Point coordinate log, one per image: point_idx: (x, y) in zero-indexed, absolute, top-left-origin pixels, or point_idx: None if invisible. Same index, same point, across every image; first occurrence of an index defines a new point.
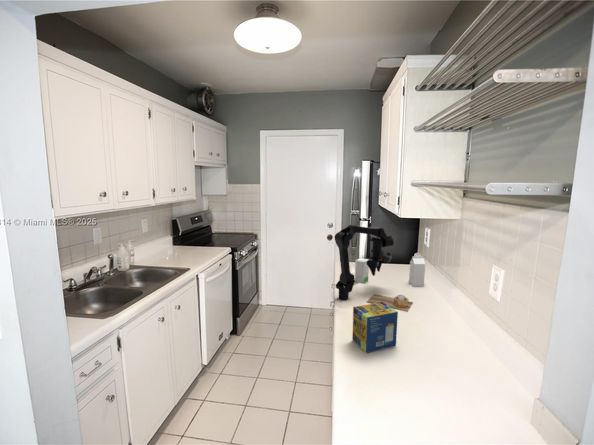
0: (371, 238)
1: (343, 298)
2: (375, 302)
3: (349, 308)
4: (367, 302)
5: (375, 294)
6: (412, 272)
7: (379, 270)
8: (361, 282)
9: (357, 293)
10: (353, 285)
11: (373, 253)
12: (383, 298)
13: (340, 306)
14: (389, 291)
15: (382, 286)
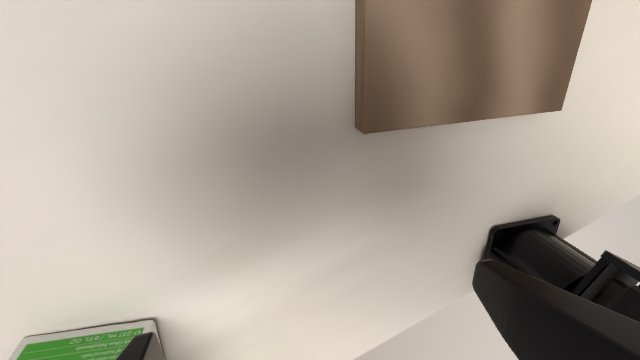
0: None
1: (575, 249)
2: (546, 40)
3: (613, 166)
4: (559, 100)
5: (368, 119)
6: None
7: (142, 353)
8: None
9: (365, 252)
10: (630, 285)
11: None
12: (430, 5)
13: (596, 217)
14: (104, 44)
15: (15, 178)
